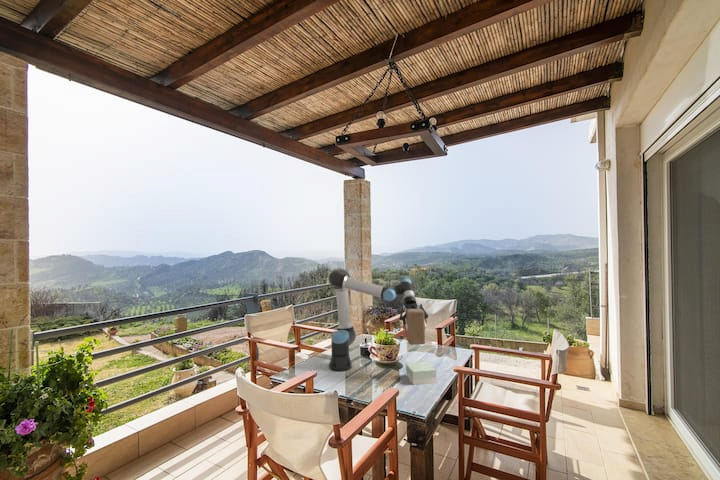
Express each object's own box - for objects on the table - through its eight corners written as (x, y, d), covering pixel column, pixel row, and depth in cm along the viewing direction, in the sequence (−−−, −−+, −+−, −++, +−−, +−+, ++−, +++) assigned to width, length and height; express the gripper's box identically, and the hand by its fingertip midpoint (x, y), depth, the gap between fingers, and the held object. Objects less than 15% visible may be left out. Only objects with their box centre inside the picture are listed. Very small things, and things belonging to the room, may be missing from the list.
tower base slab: (413, 385, 188) (413, 378, 188) (406, 376, 202) (406, 369, 202) (436, 383, 190) (436, 376, 190) (427, 374, 204) (427, 368, 204)
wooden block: (425, 344, 194) (424, 311, 195) (408, 345, 194) (407, 311, 195) (422, 340, 204) (421, 308, 205) (406, 340, 204) (405, 308, 205)
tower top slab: (413, 378, 187) (413, 371, 188) (405, 370, 201) (405, 363, 201) (436, 376, 190) (436, 370, 190) (427, 368, 204) (427, 362, 204)
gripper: (425, 301, 217) (433, 330, 201) (391, 303, 215) (396, 332, 199) (427, 294, 212) (436, 324, 196) (392, 296, 210) (398, 326, 194)
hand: (416, 328), depth 197 cm, fingers closed on wooden block, 11 cm apart
